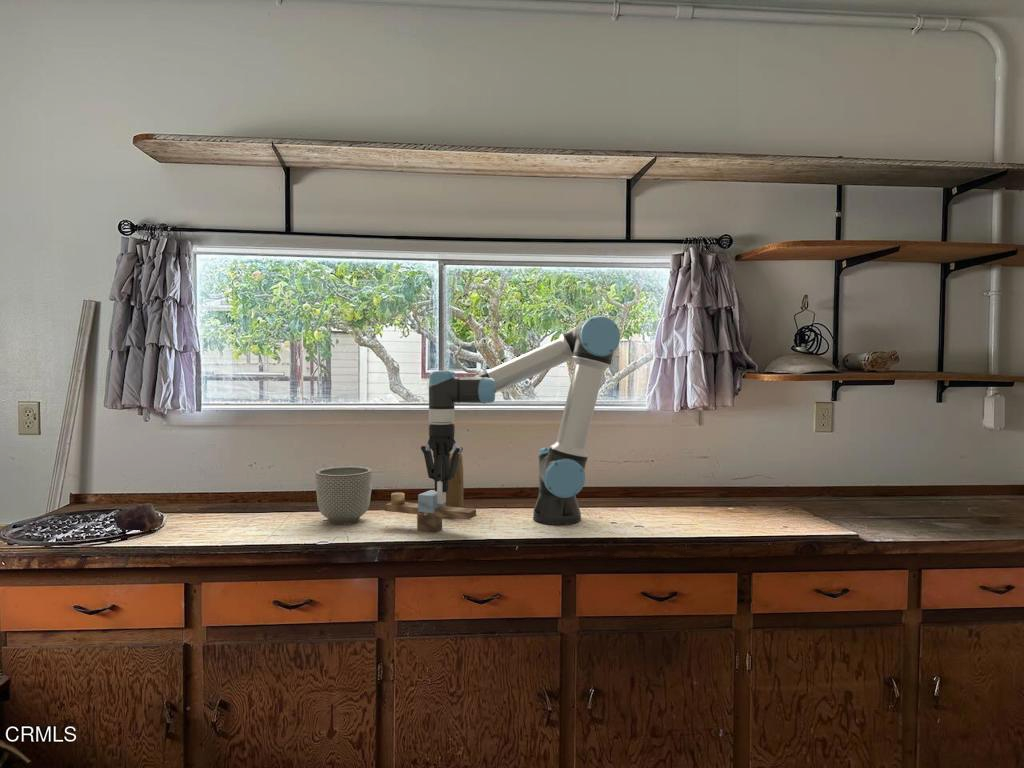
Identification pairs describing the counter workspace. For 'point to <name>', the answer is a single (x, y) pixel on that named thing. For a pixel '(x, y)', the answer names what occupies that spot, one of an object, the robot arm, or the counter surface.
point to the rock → (138, 518)
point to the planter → (343, 493)
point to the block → (455, 485)
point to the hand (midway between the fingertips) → (441, 502)
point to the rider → (428, 502)
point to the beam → (427, 520)
